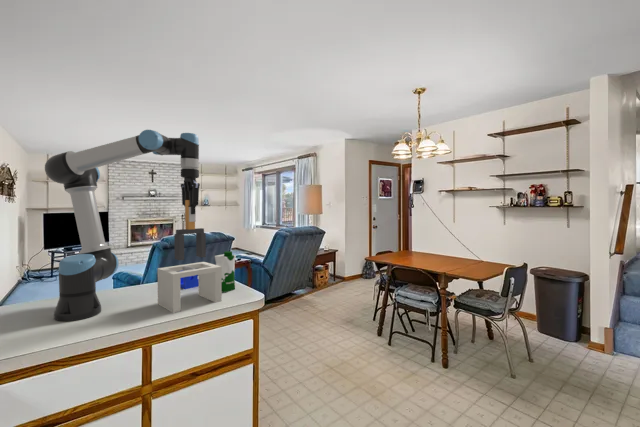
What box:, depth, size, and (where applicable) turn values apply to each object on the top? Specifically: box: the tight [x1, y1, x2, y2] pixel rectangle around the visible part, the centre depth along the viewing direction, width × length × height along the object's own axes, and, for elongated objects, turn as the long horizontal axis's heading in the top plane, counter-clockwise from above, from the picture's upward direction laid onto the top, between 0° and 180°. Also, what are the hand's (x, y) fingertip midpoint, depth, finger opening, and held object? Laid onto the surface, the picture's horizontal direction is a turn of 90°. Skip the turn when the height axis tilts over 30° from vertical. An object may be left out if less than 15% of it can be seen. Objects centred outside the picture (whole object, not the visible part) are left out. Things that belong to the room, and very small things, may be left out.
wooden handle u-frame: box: [173, 200, 207, 261], centre depth 144 cm, size 12×5×26 cm, turn 138°
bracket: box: [178, 271, 199, 290], centre depth 176 cm, size 18×8×9 cm, turn 141°
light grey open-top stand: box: [157, 261, 223, 314], centre depth 145 cm, size 22×16×16 cm
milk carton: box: [214, 250, 237, 293], centre depth 166 cm, size 9×9×20 cm
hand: (190, 221), depth 144 cm, fingers closed on wooden handle u-frame, 3 cm apart
